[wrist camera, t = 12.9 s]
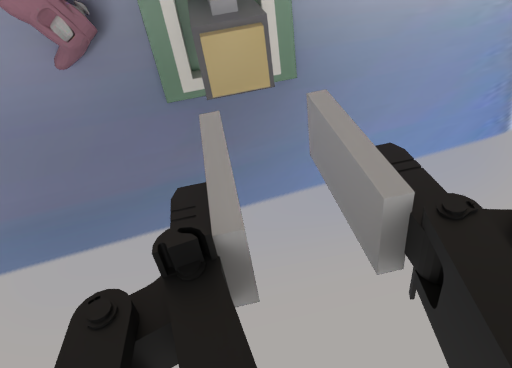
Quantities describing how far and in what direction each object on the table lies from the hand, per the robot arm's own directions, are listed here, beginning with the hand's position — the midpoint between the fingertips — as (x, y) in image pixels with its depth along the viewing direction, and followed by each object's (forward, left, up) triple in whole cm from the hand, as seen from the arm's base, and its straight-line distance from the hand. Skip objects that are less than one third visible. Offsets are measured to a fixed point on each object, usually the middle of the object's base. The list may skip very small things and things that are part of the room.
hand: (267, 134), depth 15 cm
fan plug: (0, 0, -20) cm, 20 cm away
